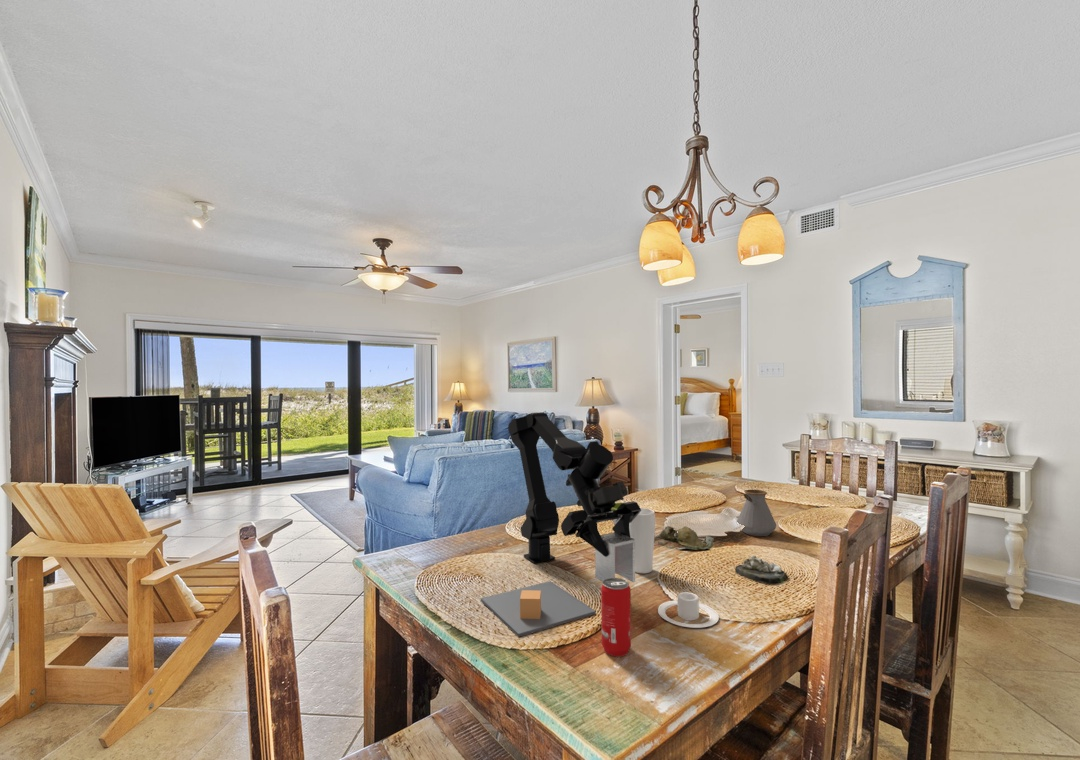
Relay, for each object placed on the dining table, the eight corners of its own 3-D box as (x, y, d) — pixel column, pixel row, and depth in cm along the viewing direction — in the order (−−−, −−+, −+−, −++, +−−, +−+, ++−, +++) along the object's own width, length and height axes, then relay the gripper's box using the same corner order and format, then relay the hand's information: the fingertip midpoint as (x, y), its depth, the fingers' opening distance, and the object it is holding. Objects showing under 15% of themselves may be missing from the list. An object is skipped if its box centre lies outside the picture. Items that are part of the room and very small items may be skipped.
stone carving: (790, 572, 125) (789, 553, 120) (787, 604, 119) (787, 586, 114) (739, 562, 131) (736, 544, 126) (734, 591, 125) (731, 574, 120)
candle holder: (652, 603, 108) (652, 583, 108) (708, 603, 108) (708, 583, 108) (664, 631, 96) (664, 608, 96) (727, 631, 96) (727, 609, 96)
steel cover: (595, 577, 108) (595, 536, 108) (617, 572, 111) (616, 531, 111) (612, 587, 103) (612, 544, 103) (635, 581, 106) (634, 539, 106)
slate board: (480, 600, 110) (480, 598, 110) (550, 583, 119) (550, 581, 119) (518, 637, 94) (518, 633, 94) (595, 613, 103) (595, 611, 103)
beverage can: (599, 642, 92) (598, 577, 92) (626, 641, 92) (626, 576, 92) (605, 658, 86) (604, 589, 86) (634, 657, 87) (633, 588, 87)
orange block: (521, 609, 104) (521, 590, 104) (541, 609, 104) (540, 590, 104) (520, 618, 100) (520, 598, 100) (540, 618, 100) (539, 598, 100)
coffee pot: (741, 525, 164) (740, 479, 164) (779, 530, 158) (779, 483, 158) (724, 542, 147) (723, 492, 147) (766, 550, 140) (765, 496, 140)
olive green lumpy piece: (729, 551, 141) (729, 532, 141) (669, 554, 139) (669, 535, 139) (700, 532, 159) (700, 515, 159) (646, 535, 156) (646, 518, 156)
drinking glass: (656, 576, 122) (655, 515, 122) (628, 574, 124) (627, 514, 124) (655, 566, 129) (654, 508, 129) (628, 564, 130) (628, 507, 130)
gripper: (567, 474, 106) (599, 541, 96) (635, 466, 115) (670, 526, 105) (548, 503, 112) (576, 568, 103) (614, 493, 122) (645, 552, 112)
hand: (618, 552), depth 106 cm, fingers closed on steel cover, 6 cm apart
